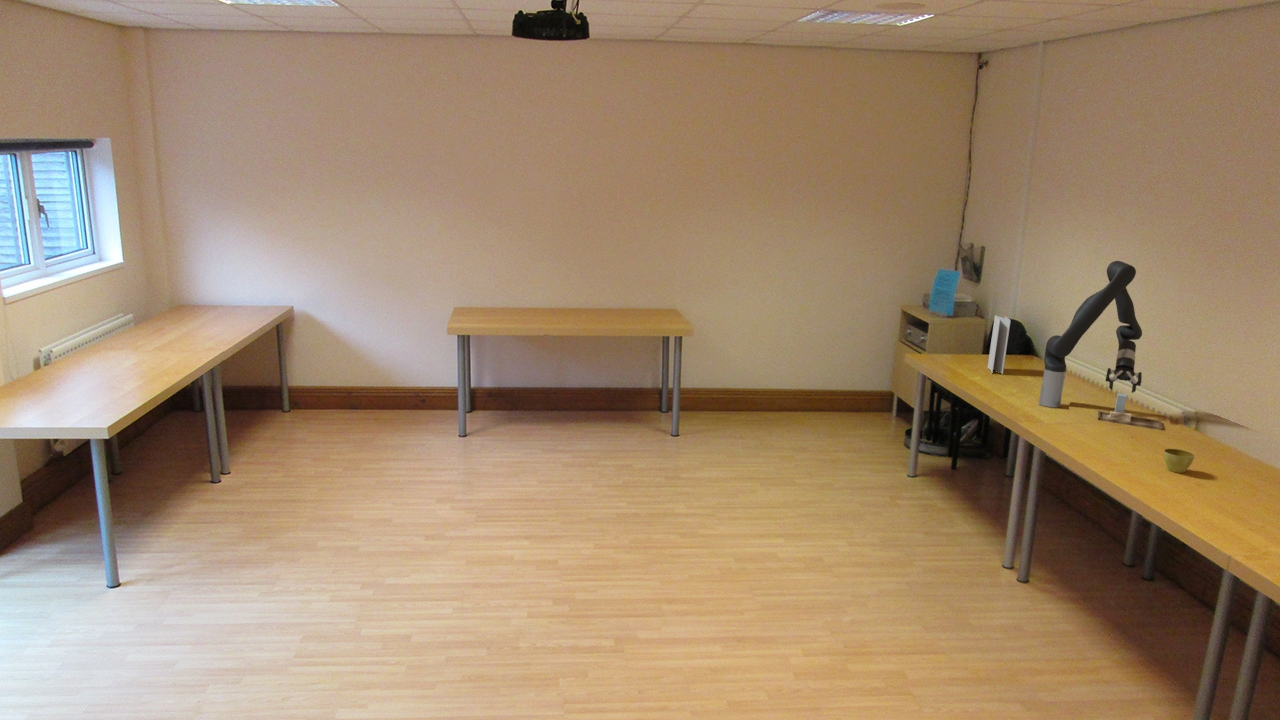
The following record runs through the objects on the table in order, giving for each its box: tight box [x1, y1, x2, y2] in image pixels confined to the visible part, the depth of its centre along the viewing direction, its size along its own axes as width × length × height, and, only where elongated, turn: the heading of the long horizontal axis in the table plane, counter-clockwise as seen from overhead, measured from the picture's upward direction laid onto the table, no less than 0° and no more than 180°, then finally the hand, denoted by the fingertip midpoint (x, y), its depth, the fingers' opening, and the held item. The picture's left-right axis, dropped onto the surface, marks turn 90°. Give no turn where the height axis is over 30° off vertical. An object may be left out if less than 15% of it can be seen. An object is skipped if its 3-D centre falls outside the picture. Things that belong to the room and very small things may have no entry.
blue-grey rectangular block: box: [1114, 392, 1127, 413], centre depth 393 cm, size 3×5×11 cm, turn 153°
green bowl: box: [1163, 448, 1196, 474], centre depth 331 cm, size 10×10×7 cm
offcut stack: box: [1107, 410, 1132, 422], centre depth 389 cm, size 9×4×4 cm, turn 63°
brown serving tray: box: [1097, 410, 1164, 431], centre depth 391 cm, size 25×13×2 cm, turn 63°
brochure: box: [987, 314, 1011, 375], centre depth 480 cm, size 14×6×30 cm, turn 168°
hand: (1122, 390), depth 398 cm, fingers open, 8 cm apart
